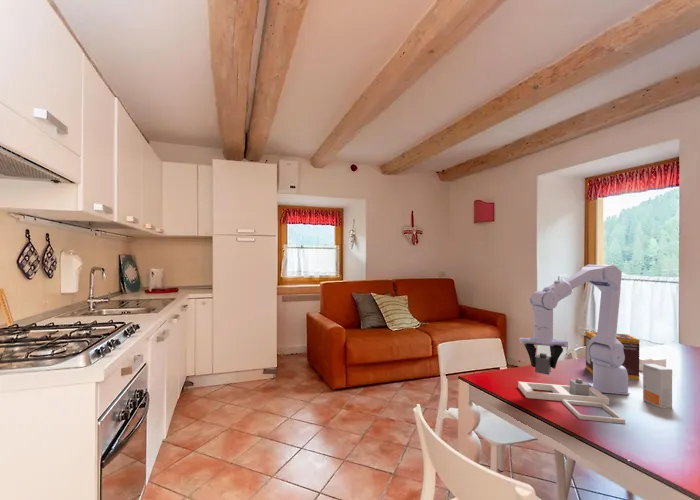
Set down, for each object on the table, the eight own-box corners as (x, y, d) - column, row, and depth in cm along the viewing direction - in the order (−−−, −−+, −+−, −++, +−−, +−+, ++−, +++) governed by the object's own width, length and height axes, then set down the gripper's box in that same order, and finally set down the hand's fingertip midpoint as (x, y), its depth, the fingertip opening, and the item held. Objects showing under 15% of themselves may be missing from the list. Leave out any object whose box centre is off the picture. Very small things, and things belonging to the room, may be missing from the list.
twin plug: (582, 395, 117) (582, 377, 117) (589, 400, 112) (589, 382, 112) (569, 394, 117) (569, 376, 117) (575, 399, 113) (575, 380, 113)
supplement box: (640, 380, 133) (640, 339, 133) (592, 375, 138) (593, 335, 139) (629, 372, 143) (629, 334, 143) (585, 367, 148) (585, 330, 148)
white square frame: (603, 406, 108) (603, 403, 108) (625, 423, 97) (625, 419, 97) (562, 402, 110) (562, 399, 110) (579, 418, 99) (579, 415, 99)
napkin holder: (666, 369, 148) (666, 356, 149) (678, 377, 138) (678, 363, 138) (623, 364, 155) (623, 351, 155) (631, 372, 144) (631, 358, 145)
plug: (550, 371, 118) (551, 353, 118) (548, 374, 114) (548, 356, 114) (537, 369, 120) (537, 351, 120) (535, 372, 117) (535, 354, 117)
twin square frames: (593, 393, 118) (593, 387, 118) (608, 405, 109) (608, 398, 109) (518, 387, 123) (518, 381, 123) (526, 397, 113) (526, 391, 114)
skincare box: (642, 400, 113) (642, 363, 114) (654, 400, 114) (654, 363, 114) (660, 408, 107) (660, 369, 108) (673, 408, 108) (673, 369, 108)
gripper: (562, 325, 120) (561, 365, 120) (517, 323, 123) (516, 361, 122) (570, 329, 113) (570, 371, 113) (522, 327, 116) (522, 367, 116)
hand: (543, 366), depth 117 cm, fingers closed on plug, 5 cm apart
